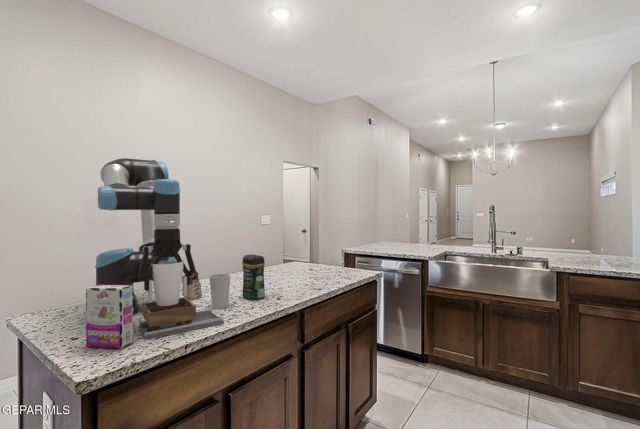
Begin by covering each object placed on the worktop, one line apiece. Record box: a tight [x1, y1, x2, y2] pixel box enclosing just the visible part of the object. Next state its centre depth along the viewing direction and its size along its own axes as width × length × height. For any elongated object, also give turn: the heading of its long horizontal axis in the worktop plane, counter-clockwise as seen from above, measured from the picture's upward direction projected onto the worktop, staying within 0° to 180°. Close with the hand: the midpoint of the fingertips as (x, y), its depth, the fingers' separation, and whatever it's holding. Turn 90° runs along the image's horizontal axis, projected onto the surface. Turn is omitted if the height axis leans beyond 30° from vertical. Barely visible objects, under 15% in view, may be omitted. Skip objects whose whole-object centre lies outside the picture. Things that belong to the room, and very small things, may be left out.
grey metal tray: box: [138, 308, 225, 341], centre depth 107 cm, size 14×23×2 cm, turn 126°
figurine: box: [183, 270, 203, 301], centre depth 142 cm, size 7×7×12 cm
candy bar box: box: [85, 284, 135, 350], centre depth 91 cm, size 11×5×16 cm, turn 81°
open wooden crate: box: [142, 297, 197, 330], centre depth 105 cm, size 13×13×5 cm
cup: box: [208, 273, 231, 310], centre depth 128 cm, size 8×8×12 cm
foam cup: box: [151, 260, 184, 306], centre depth 104 cm, size 10×9×13 cm
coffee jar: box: [241, 254, 266, 301], centre depth 141 cm, size 10×8×19 cm
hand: (167, 298), depth 104 cm, fingers closed on foam cup, 9 cm apart
